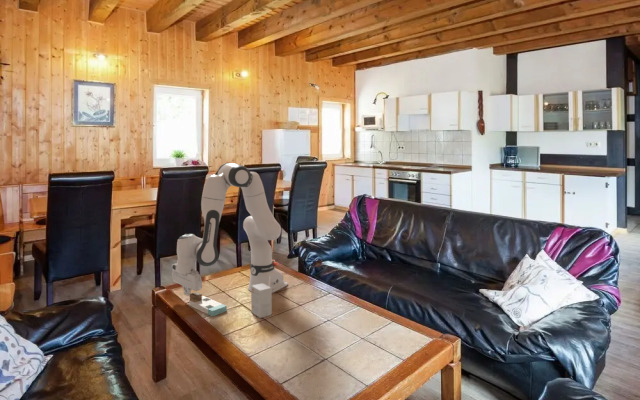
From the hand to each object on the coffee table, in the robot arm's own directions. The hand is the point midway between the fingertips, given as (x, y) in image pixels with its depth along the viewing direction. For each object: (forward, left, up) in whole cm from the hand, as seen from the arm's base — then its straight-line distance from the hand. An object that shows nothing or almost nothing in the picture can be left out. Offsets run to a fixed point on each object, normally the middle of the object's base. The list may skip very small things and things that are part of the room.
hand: (187, 294), depth 201 cm
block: (0, +7, -1) cm, 7 cm away
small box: (-15, +37, -4) cm, 40 cm away
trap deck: (-2, +14, -3) cm, 14 cm away
